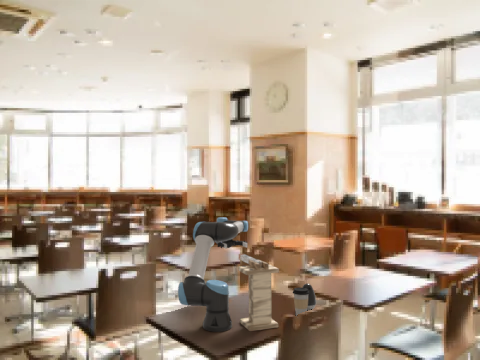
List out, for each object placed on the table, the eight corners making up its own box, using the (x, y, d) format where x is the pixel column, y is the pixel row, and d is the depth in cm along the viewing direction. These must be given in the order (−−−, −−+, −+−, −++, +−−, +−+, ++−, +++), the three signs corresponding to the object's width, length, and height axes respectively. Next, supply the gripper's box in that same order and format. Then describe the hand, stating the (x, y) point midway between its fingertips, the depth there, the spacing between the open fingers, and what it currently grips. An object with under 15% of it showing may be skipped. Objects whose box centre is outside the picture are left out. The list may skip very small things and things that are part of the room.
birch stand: (280, 327, 211) (279, 263, 211) (247, 331, 204) (247, 265, 205) (268, 318, 224) (268, 258, 224) (238, 322, 218) (238, 260, 218)
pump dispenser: (303, 312, 235) (303, 286, 235) (296, 307, 245) (296, 282, 245) (319, 311, 238) (319, 285, 238) (311, 306, 248) (311, 281, 248)
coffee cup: (307, 313, 234) (307, 287, 234) (311, 318, 224) (311, 291, 225) (291, 313, 233) (291, 287, 234) (294, 318, 224) (294, 291, 224)
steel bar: (262, 267, 214) (262, 261, 214) (256, 268, 213) (256, 262, 213) (243, 258, 241) (243, 253, 241) (238, 259, 239) (238, 253, 240)
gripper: (243, 246, 278) (255, 250, 258) (208, 248, 269) (217, 253, 249) (243, 235, 278) (255, 239, 258) (208, 237, 269) (217, 240, 249)
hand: (236, 245), depth 254 cm, fingers open, 13 cm apart
